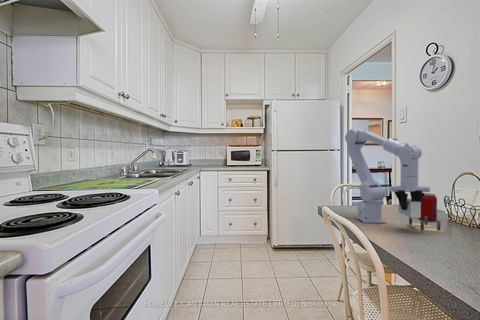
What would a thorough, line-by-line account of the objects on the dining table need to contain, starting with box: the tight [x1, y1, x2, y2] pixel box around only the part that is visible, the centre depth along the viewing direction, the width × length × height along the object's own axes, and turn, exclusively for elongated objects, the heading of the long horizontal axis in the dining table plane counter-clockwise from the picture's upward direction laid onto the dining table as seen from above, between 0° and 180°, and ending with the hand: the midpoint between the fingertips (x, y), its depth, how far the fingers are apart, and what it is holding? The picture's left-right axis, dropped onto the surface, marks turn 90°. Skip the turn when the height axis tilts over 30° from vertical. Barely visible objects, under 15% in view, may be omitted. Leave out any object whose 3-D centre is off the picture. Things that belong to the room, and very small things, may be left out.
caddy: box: [405, 216, 445, 235], centre depth 94 cm, size 10×8×4 cm
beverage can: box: [419, 192, 438, 222], centre depth 108 cm, size 7×7×12 cm
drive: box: [398, 197, 421, 219], centre depth 93 cm, size 8×4×6 cm, turn 174°
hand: (408, 209), depth 93 cm, fingers closed on drive, 3 cm apart
